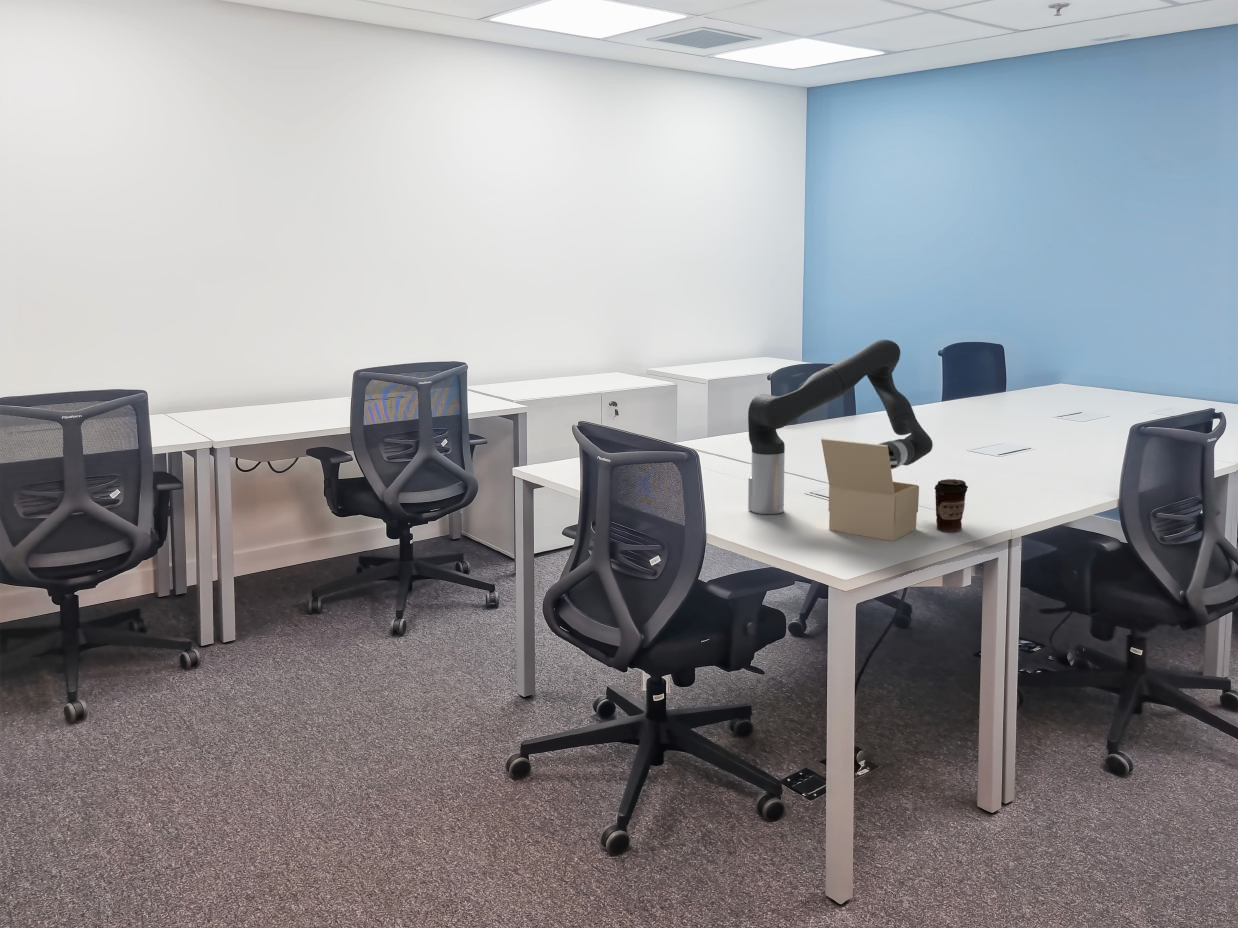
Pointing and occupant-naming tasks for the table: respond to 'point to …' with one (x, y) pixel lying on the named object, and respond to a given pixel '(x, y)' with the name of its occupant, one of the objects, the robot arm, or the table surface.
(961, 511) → the coffee cup
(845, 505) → the carton
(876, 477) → the lid flap
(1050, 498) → the table surface
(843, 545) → the table surface
